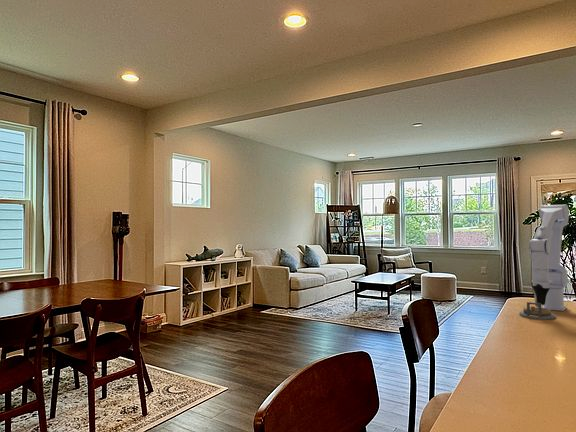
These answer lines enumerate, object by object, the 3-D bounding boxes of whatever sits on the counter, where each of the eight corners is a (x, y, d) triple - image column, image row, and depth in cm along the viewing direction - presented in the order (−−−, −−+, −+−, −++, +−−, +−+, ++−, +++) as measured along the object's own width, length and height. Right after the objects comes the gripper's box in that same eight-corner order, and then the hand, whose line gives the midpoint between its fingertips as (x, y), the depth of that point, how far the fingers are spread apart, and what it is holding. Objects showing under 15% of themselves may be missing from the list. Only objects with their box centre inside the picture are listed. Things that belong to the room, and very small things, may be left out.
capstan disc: (518, 311, 160) (517, 298, 160) (533, 309, 164) (533, 296, 164) (540, 316, 152) (540, 302, 152) (556, 313, 156) (556, 300, 156)
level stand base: (523, 311, 166) (522, 296, 167) (558, 315, 159) (557, 300, 159) (516, 316, 157) (515, 301, 157) (552, 321, 149) (552, 304, 150)
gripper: (558, 271, 152) (559, 308, 151) (546, 268, 166) (546, 301, 165) (536, 271, 154) (537, 307, 153) (526, 267, 168) (527, 300, 167)
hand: (541, 304), depth 160 cm, fingers closed, pressing on capstan disc
